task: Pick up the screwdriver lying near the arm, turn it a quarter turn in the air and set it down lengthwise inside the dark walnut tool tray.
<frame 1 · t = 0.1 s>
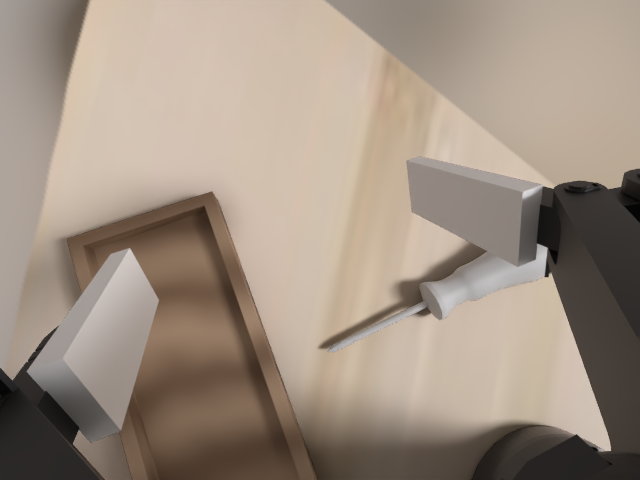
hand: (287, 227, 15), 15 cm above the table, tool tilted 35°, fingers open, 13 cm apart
screwdriver: (441, 292, 31), on the table
tool tray: (205, 382, 27), on the table
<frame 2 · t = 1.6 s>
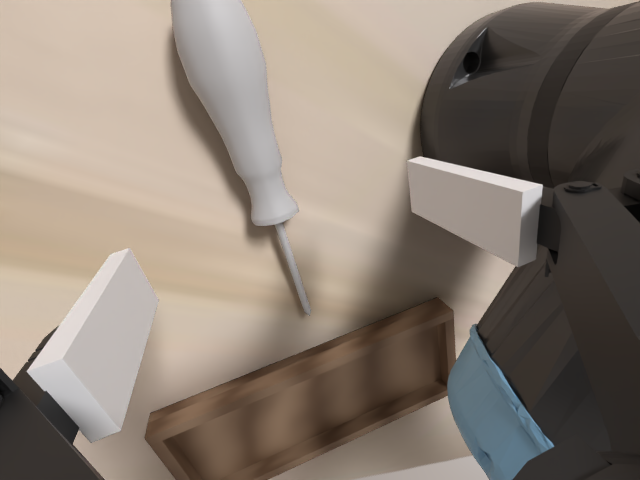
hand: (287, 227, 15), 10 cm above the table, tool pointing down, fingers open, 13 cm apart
screwdriver: (263, 183, 25), on the table
tool tray: (319, 391, 34), on the table
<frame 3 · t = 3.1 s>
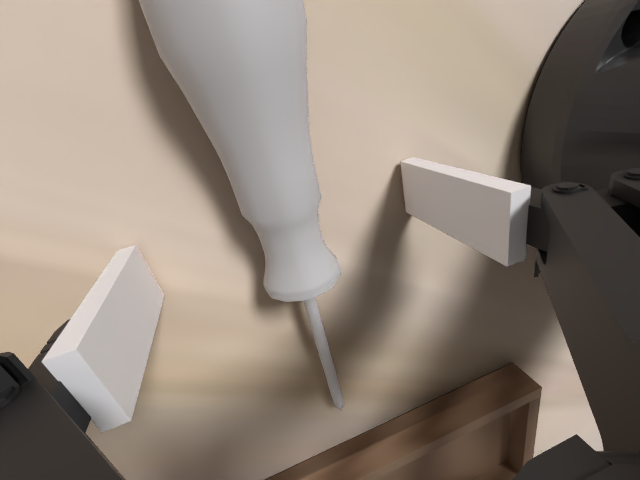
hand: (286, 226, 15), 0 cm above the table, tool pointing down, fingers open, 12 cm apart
screwdriver: (283, 226, 15), on the table
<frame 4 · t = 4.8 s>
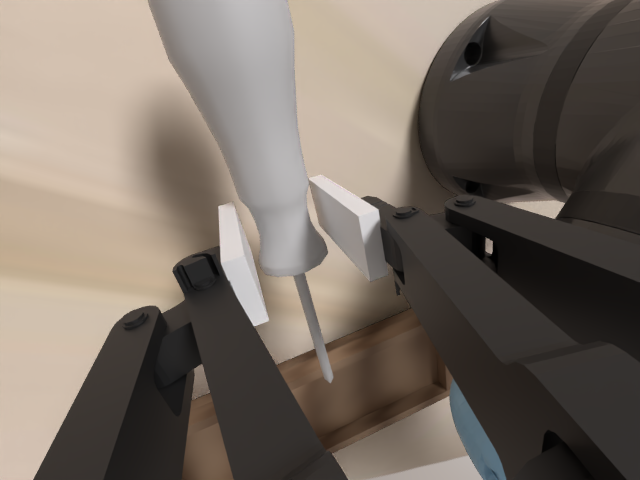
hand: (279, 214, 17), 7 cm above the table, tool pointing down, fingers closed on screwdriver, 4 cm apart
screwdriver: (277, 211, 17), point 6 cm above the table, touching gripper
tool tray: (313, 396, 33), on the table
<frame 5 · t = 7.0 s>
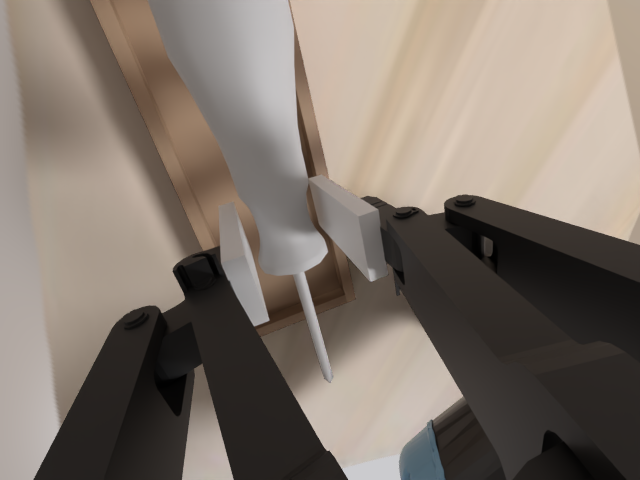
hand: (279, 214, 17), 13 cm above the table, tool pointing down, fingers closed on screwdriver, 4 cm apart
screwdriver: (276, 210, 17), point 12 cm above the table, touching gripper
tool tray: (252, 173, 28), on the table
when the fingers open (3 cm above the table, at t = 9.4 s): screwdriver drops 1 cm, resting on tool tray.
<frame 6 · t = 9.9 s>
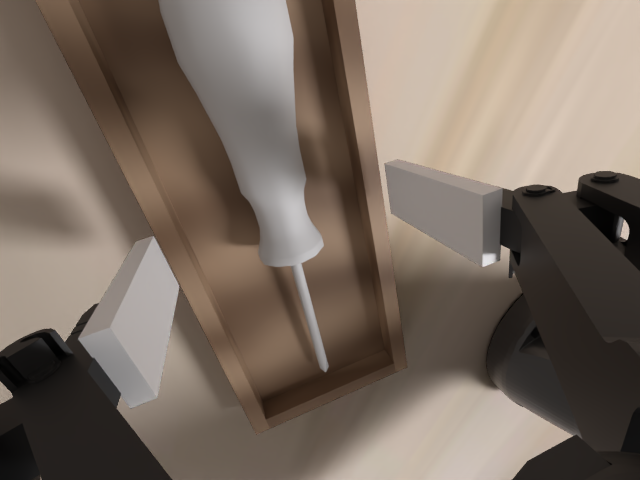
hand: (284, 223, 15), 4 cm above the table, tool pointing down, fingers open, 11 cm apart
screwdriver: (276, 206, 18), point 1 cm above the table, touching tool tray
tool tray: (271, 201, 19), on the table
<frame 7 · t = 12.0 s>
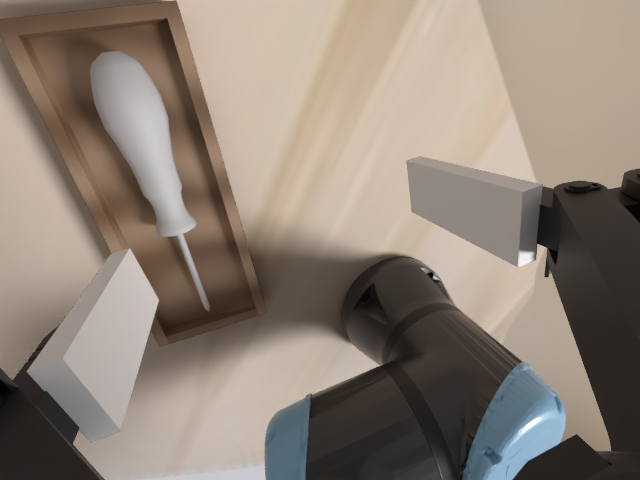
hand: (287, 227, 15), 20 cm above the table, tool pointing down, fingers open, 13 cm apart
screwdriver: (171, 202, 31), point 1 cm above the table, touching tool tray
tool tray: (169, 198, 31), on the table
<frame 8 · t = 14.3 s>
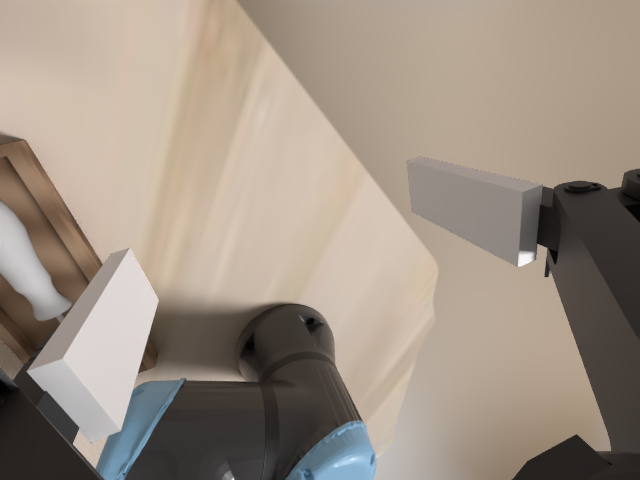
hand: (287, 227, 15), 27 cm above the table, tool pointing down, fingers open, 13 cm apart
screwdriver: (51, 287, 37), point 1 cm above the table, touching tool tray
tool tray: (49, 282, 37), on the table
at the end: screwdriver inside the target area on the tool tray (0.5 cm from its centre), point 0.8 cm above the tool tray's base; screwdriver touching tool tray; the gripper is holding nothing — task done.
